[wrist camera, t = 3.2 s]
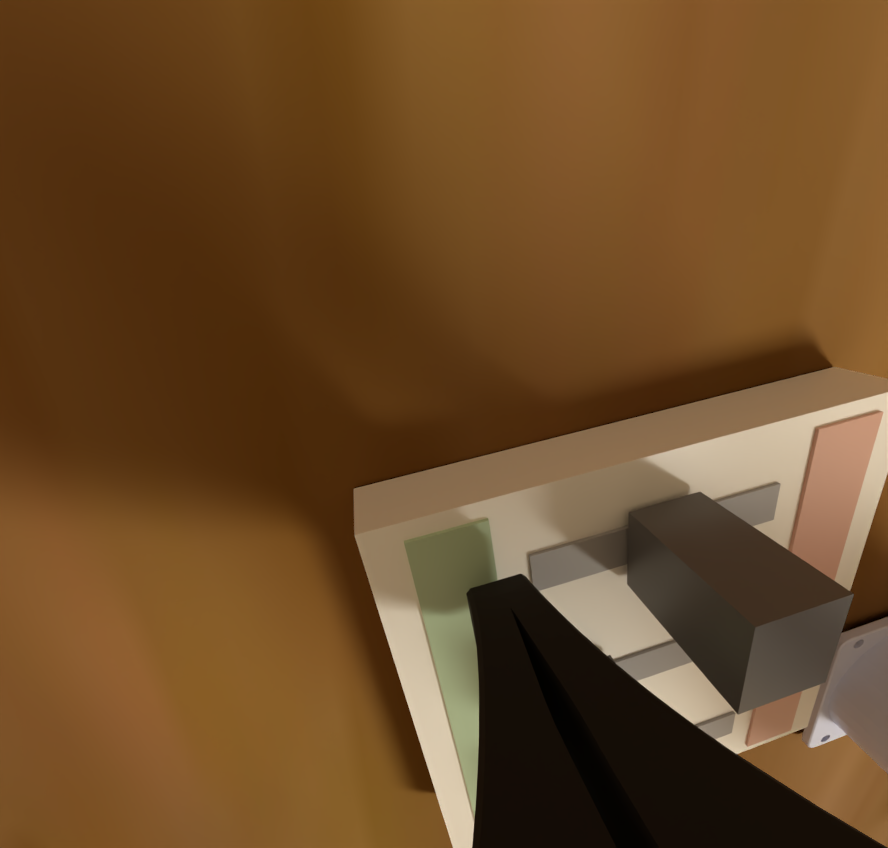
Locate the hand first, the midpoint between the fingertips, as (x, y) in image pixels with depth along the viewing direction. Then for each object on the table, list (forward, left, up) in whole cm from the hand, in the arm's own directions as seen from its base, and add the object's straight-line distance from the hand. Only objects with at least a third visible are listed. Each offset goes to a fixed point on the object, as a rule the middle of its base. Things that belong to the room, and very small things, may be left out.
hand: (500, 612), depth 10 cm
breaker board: (-5, +5, -3) cm, 7 cm away
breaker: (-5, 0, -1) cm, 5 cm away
